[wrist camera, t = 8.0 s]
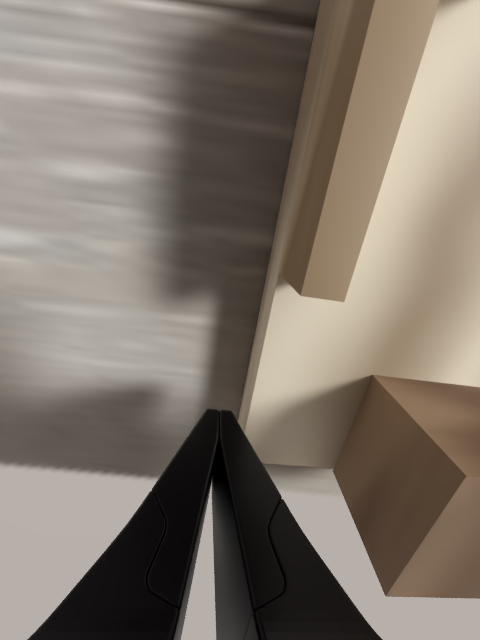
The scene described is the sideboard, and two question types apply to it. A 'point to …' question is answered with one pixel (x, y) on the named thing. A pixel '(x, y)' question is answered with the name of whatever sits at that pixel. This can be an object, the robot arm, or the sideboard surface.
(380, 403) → the walnut block
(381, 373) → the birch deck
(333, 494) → the sideboard surface
